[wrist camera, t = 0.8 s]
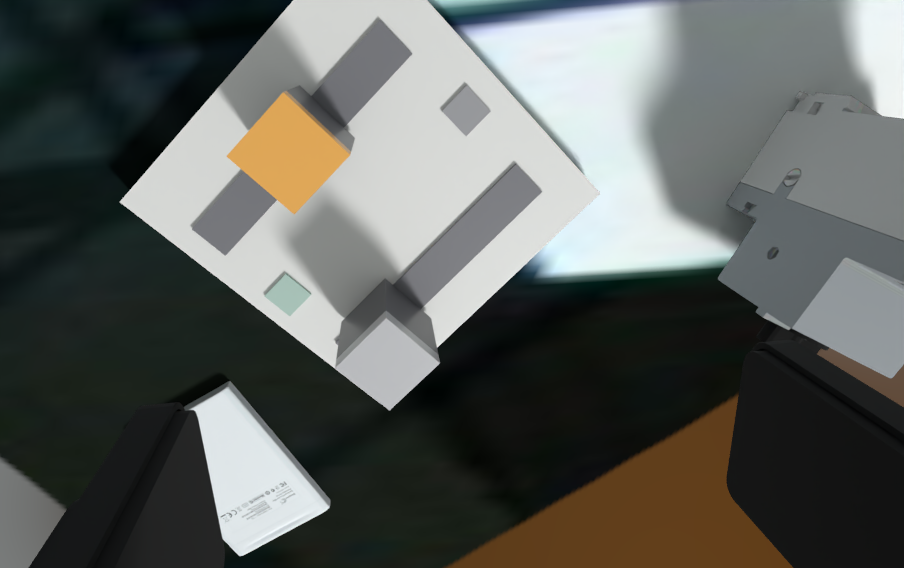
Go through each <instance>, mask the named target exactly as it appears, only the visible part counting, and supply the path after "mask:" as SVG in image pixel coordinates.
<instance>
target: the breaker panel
mask: <svg viewBox="0 0 904 568" xmlns="http://www.w3.org/2000/svg"><path fill="white" fill-rule="evenodd" d="M299 85H300V86H301V87H302V88H303V89H304V90H305V91H306V92H307V93H308V94H309V95H310V96H312V97H313V98H314V99H315V100H316V101H317V102H318V103H319V104H320V105H321V106H322V107H323V108H324V109H325V110H326V111H327V112H328V113H329V114H330V115H331V116H332V117H334V118H335V119H336V120H337V121H338V122H339V123H340V124H341V125H342V126H343V127H344V128H345V129H346V130H347V131H348V132H349V133H350V134H351V135H352V136H353V137H354V138H355V140H354V144H353V147H352V151H351V154H350V156H349V157H348V158H347V159H346V160H345V161H344V162H343V163H342V164H341V165H340V167H339V168H338V169H337V170H336V171H335V172H334V173H333V174H332V175H331V176H330V177H329V178H328V179H327V180H326V181H325V183H324V184H323V185H322V186H321V187H320V188H319V189H318V190H317V191H316V192H315V193H314V194H313V195H312V196H311V197H310V199H309V200H308V201H307V202H306V203H305V204H304V205H303V206H302V207H301V208H300V209H299V210H298V211H297V212H296V213H295V214H293V213H292V212H290V211H289V210H288V209H287V208H286V207H285V206H284V205H282V204H281V203H280V202H279V201H278V200H277V199H275V198H274V197H273V196H272V195H271V194H270V193H268V192H267V191H266V190H265V189H264V188H263V187H261V186H260V185H259V184H258V183H257V182H256V181H254V180H253V179H252V178H251V177H250V176H249V175H247V174H246V173H245V172H244V171H243V170H242V169H240V168H239V167H238V166H237V165H236V164H235V163H233V162H232V161H231V160H230V159H229V158H228V157H226V156H227V155H228V154H229V153H230V152H231V150H232V149H233V148H234V147H235V146H236V145H237V144H238V142H239V141H240V140H241V139H242V138H243V137H244V136H245V135H246V133H247V132H248V131H249V130H250V129H251V128H252V127H253V126H254V124H255V123H256V122H257V121H258V120H259V119H260V118H261V117H262V115H263V114H264V113H265V112H266V111H267V110H268V109H269V108H270V106H271V105H272V104H273V103H274V102H275V101H276V100H277V99H278V97H279V96H280V95H281V94H282V93H283V92H285V91H287V90H289V89H292V88H294V87H296V86H299ZM599 194H600V192H599V191H598V190H597V189H596V188H595V187H594V186H593V185H592V183H591V182H590V181H589V180H588V179H587V178H586V177H585V176H584V174H583V173H582V172H581V171H580V170H579V169H578V168H577V167H576V166H575V164H574V163H573V162H572V161H571V160H570V159H569V158H568V157H567V156H566V154H565V153H564V152H563V151H562V150H561V149H560V148H559V147H558V146H557V144H556V143H555V142H554V141H553V140H552V139H551V138H550V137H549V135H548V134H547V133H546V132H545V131H544V130H543V129H542V128H541V127H540V125H539V124H538V123H537V122H536V121H535V120H534V119H533V118H532V117H531V115H530V114H529V113H528V112H527V111H526V110H525V109H524V108H523V106H522V105H521V104H520V103H519V102H518V101H517V100H516V99H515V98H514V96H513V95H512V94H511V93H510V92H509V91H508V90H507V89H506V88H505V86H504V85H503V84H502V83H501V82H500V81H499V80H498V79H497V78H496V76H495V75H494V74H493V73H492V72H491V71H490V70H489V69H488V67H487V66H486V65H485V64H484V63H483V62H482V61H481V60H480V59H479V57H478V56H477V55H476V54H475V53H474V52H473V51H472V50H471V49H470V47H469V46H468V45H467V44H466V43H465V42H464V41H463V40H462V39H461V37H460V36H459V35H458V34H457V33H456V32H455V31H454V30H453V28H452V27H451V26H450V25H449V24H448V23H447V22H446V21H445V20H444V18H443V17H442V16H441V15H440V14H439V13H438V12H437V11H436V10H435V8H434V7H433V6H432V5H431V4H430V3H429V2H428V1H427V0H293V1H292V2H291V4H290V5H289V6H288V7H287V8H286V9H285V11H284V12H283V13H282V14H281V15H280V16H279V17H278V19H277V20H276V21H275V22H274V23H273V24H272V26H271V27H270V28H269V29H268V30H267V31H266V33H265V34H264V35H263V36H262V37H261V38H260V40H259V41H258V42H257V43H256V44H255V45H254V47H253V48H252V49H251V50H250V51H249V52H248V54H247V55H246V56H245V57H244V58H243V59H242V60H241V62H240V63H239V64H238V65H237V66H236V67H235V69H234V70H233V71H232V72H231V73H230V74H229V76H228V77H227V78H226V79H225V80H224V81H223V83H222V84H221V85H220V86H219V87H218V88H217V90H216V91H215V92H214V93H213V94H212V95H211V97H210V98H209V99H208V100H207V101H206V102H205V103H204V105H203V106H202V107H201V108H200V109H199V110H198V112H197V113H196V114H195V115H194V116H193V117H192V119H191V120H190V121H189V122H188V123H187V124H186V126H185V127H184V128H183V129H182V130H181V131H180V133H179V134H178V135H177V136H176V137H175V138H174V140H173V141H172V142H171V143H170V144H169V145H168V146H167V148H166V149H165V150H164V151H163V152H162V153H161V155H160V156H159V157H158V158H157V159H156V160H155V162H154V163H153V164H152V165H151V166H150V167H149V169H148V170H147V171H146V172H145V173H144V174H143V176H142V177H141V178H140V179H139V180H138V181H137V183H136V184H135V185H134V186H133V187H132V188H131V189H130V191H129V192H128V193H127V194H126V195H125V196H124V198H123V199H122V200H121V201H120V203H122V204H123V205H124V206H125V207H127V208H128V209H129V210H131V211H132V212H133V213H135V214H136V215H137V216H138V217H140V218H141V219H142V220H144V221H145V222H146V223H147V224H149V225H150V226H151V227H153V228H154V229H155V230H157V231H158V232H159V233H160V234H162V235H163V236H164V237H166V238H167V239H168V240H169V241H171V242H172V243H173V244H175V245H176V246H177V247H179V248H180V249H181V250H182V251H184V252H185V253H186V254H188V255H189V256H190V257H191V258H193V259H194V260H195V261H197V262H198V263H199V264H200V265H202V266H203V267H204V268H206V269H207V270H208V271H210V272H211V273H212V274H213V275H215V276H216V277H217V278H219V279H220V280H221V281H222V282H224V283H225V284H226V285H228V286H229V287H230V288H232V289H233V290H234V291H235V292H237V293H238V294H239V295H241V296H242V297H243V298H244V299H246V300H247V301H248V302H250V303H251V304H252V305H254V306H255V307H256V308H257V309H259V310H260V311H261V312H263V313H264V314H265V315H266V316H268V317H269V318H270V319H272V320H273V321H274V322H276V323H277V324H278V325H279V326H281V327H282V328H283V329H285V330H286V331H287V332H288V333H290V334H291V335H292V336H294V337H295V338H296V339H297V340H299V341H300V342H301V343H303V344H304V345H305V346H307V347H308V348H309V349H310V350H312V351H313V352H314V353H316V354H317V355H318V356H319V357H321V358H322V359H323V360H325V361H326V362H327V363H329V364H330V365H331V366H332V367H334V368H335V364H336V357H337V350H338V343H339V335H340V328H341V322H342V321H343V320H344V319H345V318H346V317H347V316H348V315H349V314H350V313H351V312H352V311H353V310H354V309H355V308H356V307H357V306H358V305H359V304H360V303H361V302H362V301H363V300H364V299H365V298H366V297H367V296H368V295H369V294H370V293H371V292H372V291H373V290H374V289H375V288H376V287H377V286H378V285H379V284H380V283H381V282H382V281H383V280H384V279H385V278H386V279H387V280H388V281H389V282H390V283H391V284H393V285H394V286H395V287H396V288H397V289H398V290H399V291H401V292H402V293H403V294H404V295H405V296H406V297H407V298H409V299H410V300H411V301H412V302H413V303H414V304H416V305H417V306H418V307H419V308H420V309H421V310H422V311H424V312H425V313H426V314H427V315H428V316H429V317H430V318H431V320H432V325H433V330H434V336H435V341H436V346H437V347H438V346H439V345H440V344H442V343H443V342H444V341H445V340H446V339H447V338H448V337H449V336H450V335H451V334H452V333H453V332H454V331H455V330H456V329H457V328H458V327H460V326H461V325H462V324H463V323H464V322H465V321H466V320H467V319H468V318H469V317H470V316H471V315H472V314H473V313H474V312H475V311H476V310H478V309H479V308H480V307H481V306H482V305H483V304H484V303H485V302H486V301H487V300H488V299H489V298H490V297H491V296H492V295H493V294H494V293H495V292H497V291H498V290H499V289H500V288H501V287H502V286H503V285H504V284H505V283H506V282H507V281H508V280H509V279H510V278H511V277H512V276H513V275H515V274H516V273H517V272H518V271H519V270H520V269H521V268H522V267H523V266H524V265H525V264H526V263H527V262H528V261H529V260H530V259H531V258H533V257H534V256H535V255H536V254H537V253H538V252H539V251H540V250H541V249H542V248H543V247H544V246H545V245H546V244H547V243H548V242H549V241H551V240H552V239H553V238H554V237H555V236H556V235H557V234H558V233H559V232H560V231H561V230H562V229H563V228H564V227H565V226H566V225H567V224H569V223H570V222H571V221H572V220H573V219H574V218H575V217H576V216H577V215H578V214H579V213H580V212H581V211H582V210H583V209H584V208H585V207H587V206H588V205H589V204H590V203H591V202H592V201H593V200H594V199H595V198H596V197H597V196H598V195H599ZM336 370H337V369H336ZM340 373H341V372H340ZM341 374H342V373H341ZM345 377H346V376H345ZM349 380H350V379H349ZM354 384H355V383H354ZM358 387H359V386H358ZM362 390H363V389H362ZM363 391H364V390H363ZM367 394H368V393H367ZM371 397H372V396H371ZM376 401H377V400H376Z"/></svg>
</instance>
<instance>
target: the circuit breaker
mask: <svg viewBox="0 0 904 568" xmlns="http://www.w3.org/2000/svg"><path fill="white" fill-rule="evenodd" d="M795 98H797V99H799V100H800V101H799V102H798V104H797V105H796V107H795V108H794V110H793V111H786V113H785V114H784V116H783V117H782V119H781V120H780V122H779V123H778V125H777V126H776V128H775V129H774V131H773V132H772V134H771V135H770V137H769V139H768V140H767V142H766V143H765V145H764V146H763V148H762V149H761V151H760V152H759V154H758V155H757V157H756V158H755V160H754V161H753V163H752V164H751V166H750V168H749V169H748V171H747V172H746V174H745V175H744V177H743V178H742V180H741V181H740V183H739V184H738V186H737V187H736V189H735V191H734V192H733V194H732V195H731V197H730V198H729V200H728V201H727V205H728V206H730V207H732V208H734V209H736V210H738V211H739V212H741V213H743V214H745V215H747V216H748V217H750V218H752V219H754V220H756V222H755V223H754V225H753V226H752V228H751V229H750V231H749V232H748V234H747V235H746V237H745V238H744V240H743V241H742V243H741V244H740V246H739V247H738V249H737V250H736V252H735V253H734V255H733V256H732V258H731V259H730V261H729V262H728V263H727V265H726V266H725V268H724V269H723V271H722V272H721V274H720V275H719V277H718V280H719V281H721V282H722V283H724V284H725V285H727V286H728V287H730V288H731V289H733V290H734V291H736V292H737V293H739V294H740V295H742V296H743V297H745V298H746V299H748V300H749V301H751V302H752V303H753V304H755V305H756V306H758V307H759V308H758V309H757V311H756V313H758V314H759V315H760V316H762V317H763V318H765V319H767V320H768V321H767V322H766V323H765V325H764V326H763V328H762V329H761V330H760V332H759V333H758V335H757V336H756V337H757V338H759V339H760V340H761V341H763V342H772V341H782V340H793V341H796V342H798V343H799V344H801V345H802V346H804V347H806V348H807V349H809V350H811V351H812V352H814V353H815V354H817V353H818V351H819V350H820V348H822V349H824V350H828V349H829V348H832V349H834V350H835V351H838V352H839V353H841V354H843V355H845V356H847V357H849V358H851V359H853V360H855V361H857V362H859V363H861V364H863V365H865V366H867V367H869V368H871V369H873V370H875V371H877V372H879V373H881V374H883V375H885V376H887V377H889V378H893V377H894V375H895V374H896V373H897V372H898V370H899V369H900V368H901V367H902V366H903V364H904V119H901V118H893V117H885V116H881V115H880V114H878V113H877V112H875V111H874V110H872V109H871V108H869V107H868V106H866V105H865V104H863V103H862V102H860V101H859V100H857V99H856V98H854V97H853V96H846V95H835V94H825V93H815V95H809V94H807V93H805V92H803V91H799V93H798V94H797V96H796V97H795Z"/></svg>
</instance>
